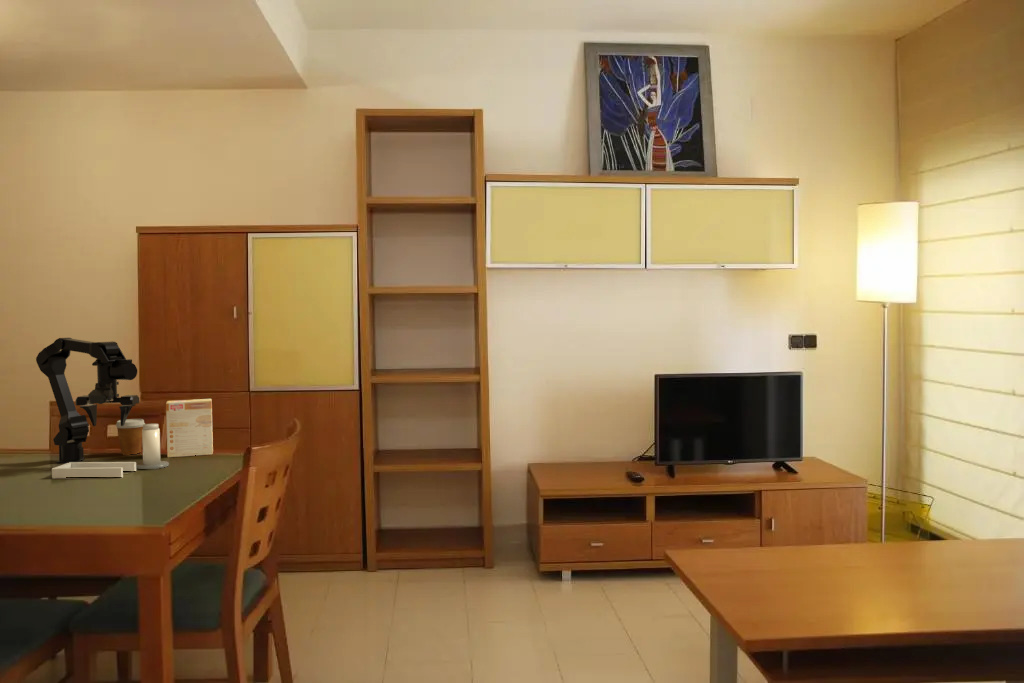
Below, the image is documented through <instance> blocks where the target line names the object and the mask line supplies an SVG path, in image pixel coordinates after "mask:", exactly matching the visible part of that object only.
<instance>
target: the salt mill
mask: <svg viewBox="0 0 1024 683" xmlns="http://www.w3.org/2000/svg"><path fill="white" fill-rule="evenodd" d="M159 426H160V425H159V423H145V424H144V425H143V429H142V462H143V465H157V464H160V461H161V432H160V431H161V430H160V428H159Z"/></svg>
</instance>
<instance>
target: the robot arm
mask: <svg viewBox="0 0 1024 683" xmlns="http://www.w3.org/2000/svg"><path fill="white" fill-rule="evenodd" d="M71 352H76V353H82V354H87V355H89V356H90V357H92V358H94V359H95V361H94V362H92V364H91V366H94V367H96V369H97V370H96V372H97V374H96V375H97V382H96V383H95V385H94V387H95V388H94V389H93V390H92V391H90V392H89V393H88V395H85V394H84V395H81V396H77V397H76V398H75V403H74V398H73V395H72V393H71V390H70V387H69V384H68V380H67V377H66V375H65V372H66V369H67V359H68V358H69V357H70V356H71ZM35 362H36V364H37V366H38V368H39V371H40V372H41V373H42V374H44V375H45V376H46V377H47V378H48V381H49V385H50V387H51V390H52V393H53V397H54V400H55V403H56V405H57V409H58V412H59V415H60V419H59V422H58V432H57V433H56V435H55V436H54V438H53V444H54V445H55V446H58V459H59V460H57V461H56V463H57V464H66V463H68V462H82V461H84V460H86V458H85V456H84V447H83V443H86V442H87V438H88V434H89V432H90V429H89V427H90V424H89V422H88V418H89V420H90V421H91V422H90V423H91V425H92V427H96V426H97V420H98V419H97V416H98V415H97V414H98V404H99V405H103V404H120V406H119V407H118V408H119V409H120V420H121V426H124V423H125V421H126V419H127V418H128V416H129V414H130V413H131V411H132V408H133V407H136V405H138V404H140V397H139V395H137V394H127V395H122V396H120V393H118V385H119V384H120V383H119V381H132V380H134V379H136V377H137V376H138V368H137V366H136V364H134V362H133V359H131V358H130V359H127V358H126V357H125V354H124V353H123V351H122V350H121V348H120V347H119V344H118V343H117V342H116V341H112V340H111V341H98V342H97V341H96V342H95V341H88V340H82V339H76V338H72V337H59V338H57V339H55V340H54V341H53V342H52V343H51V344H49V345H48V346H46V347H44V348H43V349H42V350H41V351H39V352H38V353H37V356H36V358H35ZM76 406H79V409H80V408H81V409H83V410H84V411H85V412H86V413H87V415H88V418H87V416H86V415H85V414H82V415H81V414H80V413H79V412H78V411H77V407H76ZM81 460H82V461H81Z"/></svg>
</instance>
